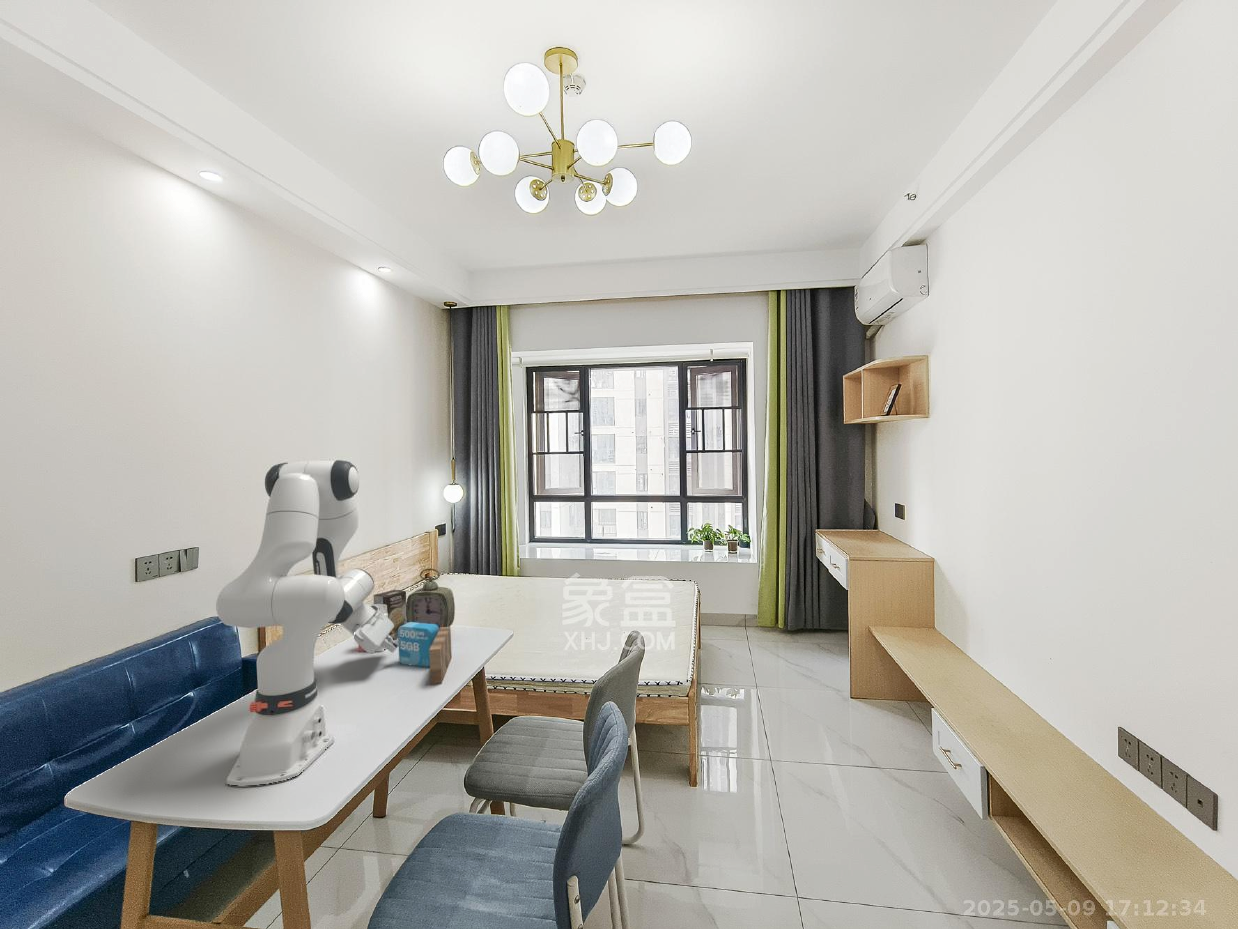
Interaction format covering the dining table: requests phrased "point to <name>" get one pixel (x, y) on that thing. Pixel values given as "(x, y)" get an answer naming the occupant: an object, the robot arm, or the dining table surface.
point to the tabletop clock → (431, 604)
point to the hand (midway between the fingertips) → (395, 649)
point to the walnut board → (440, 655)
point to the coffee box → (394, 608)
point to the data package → (416, 643)
